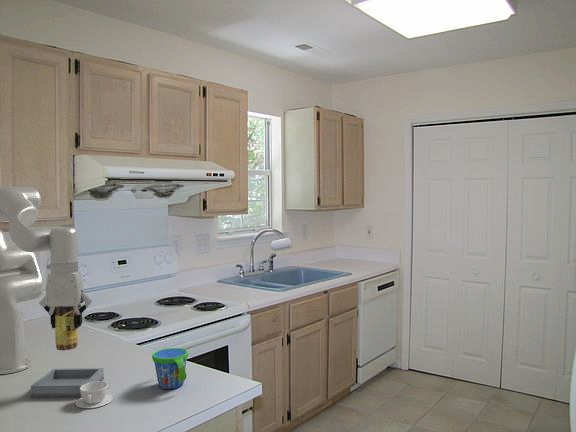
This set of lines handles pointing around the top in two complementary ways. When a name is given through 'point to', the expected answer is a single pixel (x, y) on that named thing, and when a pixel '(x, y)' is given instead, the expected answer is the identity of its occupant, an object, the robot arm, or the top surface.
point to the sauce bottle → (65, 328)
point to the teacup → (94, 395)
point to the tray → (65, 382)
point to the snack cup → (170, 367)
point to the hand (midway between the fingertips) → (66, 326)
